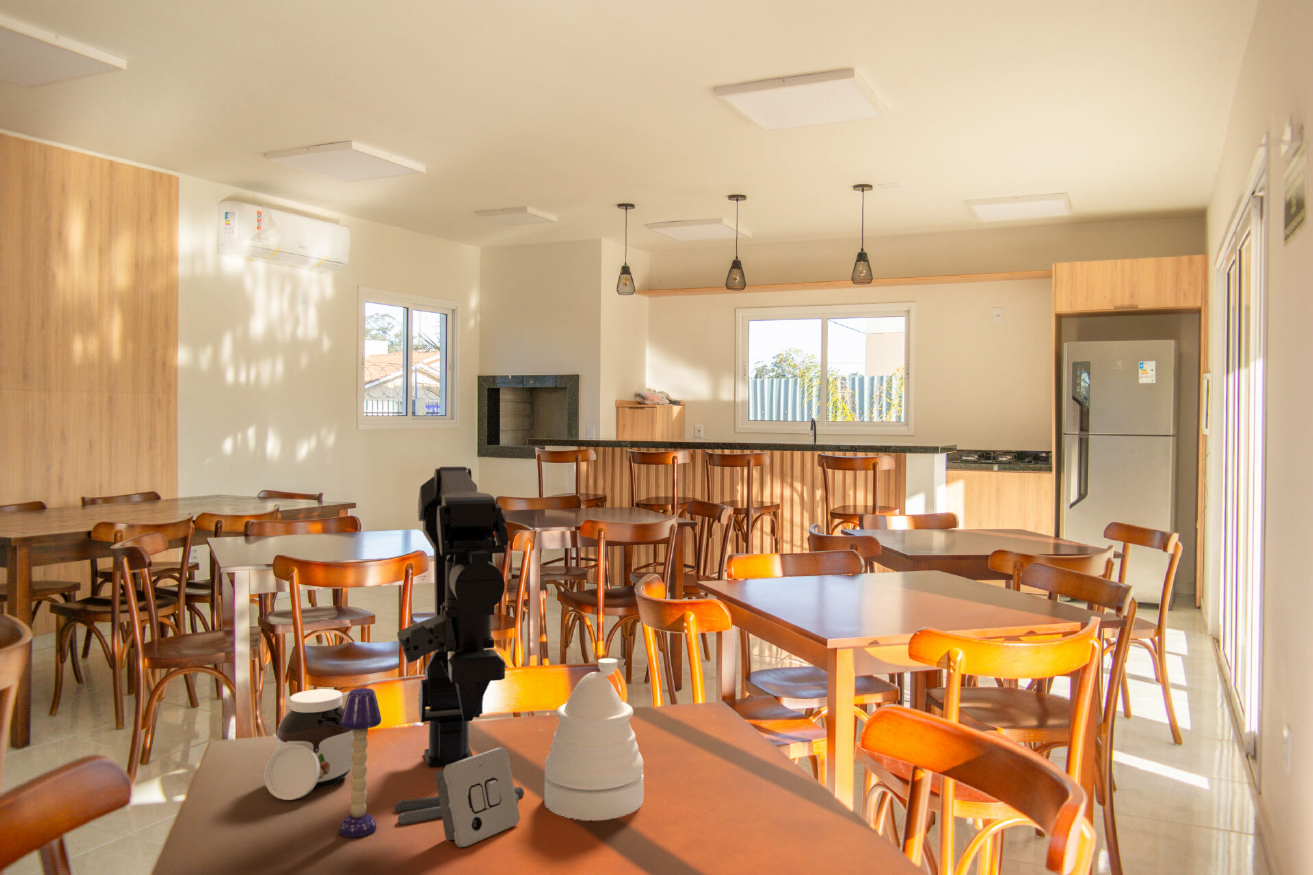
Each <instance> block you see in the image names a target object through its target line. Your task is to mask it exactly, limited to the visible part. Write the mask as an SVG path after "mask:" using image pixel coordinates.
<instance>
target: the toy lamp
mask: <svg viewBox="0 0 1313 875" xmlns="http://www.w3.org/2000/svg"><path fill="white" fill-rule="evenodd" d="M378 703H379V702H378V699H377V696H376V692H375V690H374V689H372V688H366V687H364V688H355V689H352V690H350V691H349V692H348V694H347V698H346V701H345V705H344V707H343V708H344V711H343V715H342V719H341V726H342V727H344V728H347V729H353V730H352V733H353V737H354V739H353V742H352V748H353V750H354V751H353V753H352V762H353V765H352V768H351V770H350V773H351V776H352V779H351V783H350V785H351V789H352V790H351V795H350V799H351V803H352V804H351V807H350V813H351V814H349V815H348V816H346V817H345V818H344V819H343V820H342V822H341V824H340V826H339V835H341V836H343V837H348V838H359V837H364V836H368V835H370V834H372V833H374V832H375V831H376V830H377V823H376V820H375V818H374V817H373V816H372V815H371V814H369V813H366V811H367V804H366V800H367V798H368V797H367V790H366V787H367V784H368V778H367V776H366V775H367V772H368V765H367V760H368V751H367V748H368V744H369V742H368V738H367V736H368V734H369V729H372V728H375V727H377V726H379V725H380V724H381V722H382V716H381V711H380V707H379V704H378Z"/></svg>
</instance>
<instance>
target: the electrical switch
mask: <svg viewBox="0 0 1313 875" xmlns="http://www.w3.org/2000/svg"><path fill="white" fill-rule="evenodd" d="M444 766H445V767H444V769H442V770H439V771H436V772H434V778H435V783H436V789H437V794H438V795H437V796H439V802H440V808H441V814H442V818H441V819H442V824H443V829H444V830H443V831H444V835H445V836H444V837H445V840H449V841H450V840H453V841H454V843H455V845H456V846H457V847H458V848H466V847H469V846H472V845H473V844H475V843H478V842H480V841H482V840H485V839H487V838H489V837H491V836H494V835H496V834H498V833H500V832H502V831H503V832H504V831H505V830H508V829H510V828H513V827H514V826H517V825H518V824H519V822H520V820H521V818H520V811H519V807H518V803H517V800H516V795H515V789H514V787H515V785H514V780H513V779H514V778H513V774H512V768H511V762H510V757H509V754H508V750H507V749H506V748H505V747H496V748H493V749H490V750H488V751H487V750H486V751H484V752H481V753H478V754H475V755H473V756H472V757H469V758H466V759H463V760H460V761H457V762H454V763H451V764H448V765H444ZM447 797H448V799H447ZM447 803H449V807H450V809H449V808H448V805H447ZM449 813H451V814H449Z"/></svg>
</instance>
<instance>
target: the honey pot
mask: <svg viewBox="0 0 1313 875" xmlns="http://www.w3.org/2000/svg"><path fill="white" fill-rule="evenodd" d="M618 662H619V661H618V659H616V658H612V657H611V658H610V657H609V658H600V659H598V660H597V665H598V668H599V670H600V671H592V672H588V673H587V674H585V675H584V676H583V677H582V678H581V679H580V680H579V682H578V683H577V684H576V686H575V687H574V689H573V690H572V692H571V694H570V696H569V698H568V700H567V701H566V703H564V704H562V705H560V706H559V707H558V708H557V710H556V717H557V719H559V722H558V724H557V727H556V730H555V732H554V733H553V735H552V743H551V744H550V746H549V753H548V755H547V756H546V758H545V760H544V768H545V769H544V807H545V808H546V809H547V808H548V809H549V810H550V811H549V810H548V809H547V810H548V811H549V812H551V811H552V812H551V813H553V812H554V813H555V815H556V814H558V815H557V816H559V815H561V816H560V817H562V816H564V817H563V818H565V817H567V818H566V819H570V818H574V819H573V820H576V819H577V821H590V820H592V821H591V822H593V821H606V820H613V819H616V818H617V819H618V818H621V817H624V816H628V815H630V814H632V813H634V812H636V811H637V810H639V809H640V808H641V807H642V806H643V804H644V803H643V802H644V776H645V775H644V759H643V757H642V754H641V752H640V751H639V749H640V748H639V744H638V742H637V741H636V739H637V738H636V733H635V731H634V730H633V729H632V725H631V722H630V719H631V718H632V717H633V714H634V709H633V707H632V706H631V705H630V704H628V703H626V702H624V701H622V699H621V697H620V695H619V693H618V692H617V690H616V688H615V687H614V685H613V684H612V682H611V680H609V679H608V677H609V676H611V675H613V674H614V673H615V671H616V670H617V667H618ZM554 813H553V814H554ZM627 814H628V815H627ZM612 818H613V819H612ZM578 819H580V820H578Z"/></svg>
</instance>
